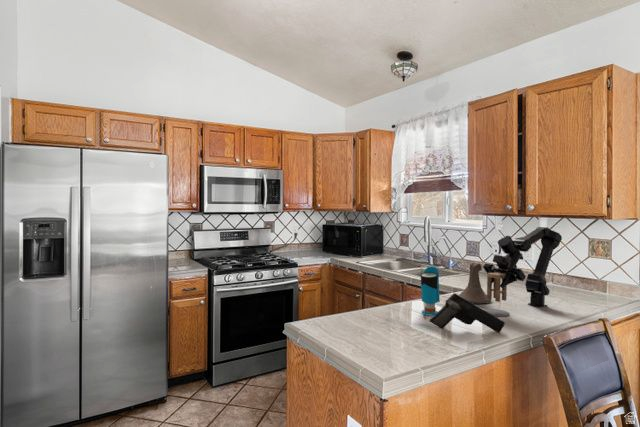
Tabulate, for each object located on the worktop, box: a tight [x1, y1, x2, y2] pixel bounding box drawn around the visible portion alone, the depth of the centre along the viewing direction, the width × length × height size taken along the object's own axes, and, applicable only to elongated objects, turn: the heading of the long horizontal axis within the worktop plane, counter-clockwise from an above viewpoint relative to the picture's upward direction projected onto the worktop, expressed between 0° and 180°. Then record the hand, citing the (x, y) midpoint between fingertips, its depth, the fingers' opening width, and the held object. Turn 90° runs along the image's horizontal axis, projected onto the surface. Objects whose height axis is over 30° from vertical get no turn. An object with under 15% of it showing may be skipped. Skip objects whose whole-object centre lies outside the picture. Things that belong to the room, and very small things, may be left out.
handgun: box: [429, 292, 506, 334], centre depth 149 cm, size 2×24×15 cm, turn 78°
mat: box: [484, 308, 511, 318], centre depth 172 cm, size 11×11×1 cm
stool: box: [486, 272, 508, 303], centre depth 172 cm, size 6×6×12 cm
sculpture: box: [458, 261, 492, 305], centre depth 196 cm, size 17×17×20 cm
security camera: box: [420, 266, 441, 316], centre depth 171 cm, size 8×21×10 cm
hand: (494, 285), depth 171 cm, fingers closed on stool, 6 cm apart
